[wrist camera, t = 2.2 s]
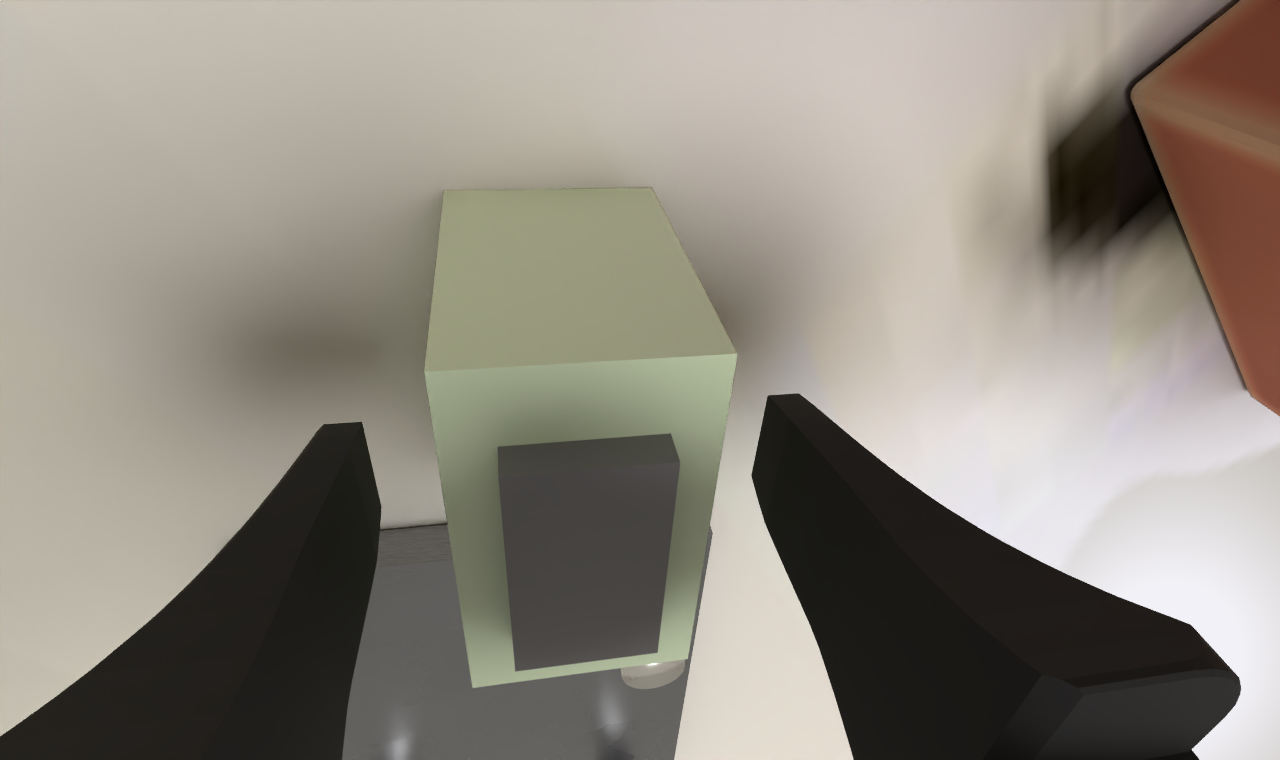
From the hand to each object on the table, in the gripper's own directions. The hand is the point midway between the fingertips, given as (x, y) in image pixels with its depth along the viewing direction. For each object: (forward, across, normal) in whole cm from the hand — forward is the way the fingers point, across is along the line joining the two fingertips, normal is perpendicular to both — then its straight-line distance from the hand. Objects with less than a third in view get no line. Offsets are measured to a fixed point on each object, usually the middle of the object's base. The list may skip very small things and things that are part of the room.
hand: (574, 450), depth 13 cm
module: (+4, 0, 0) cm, 4 cm away
